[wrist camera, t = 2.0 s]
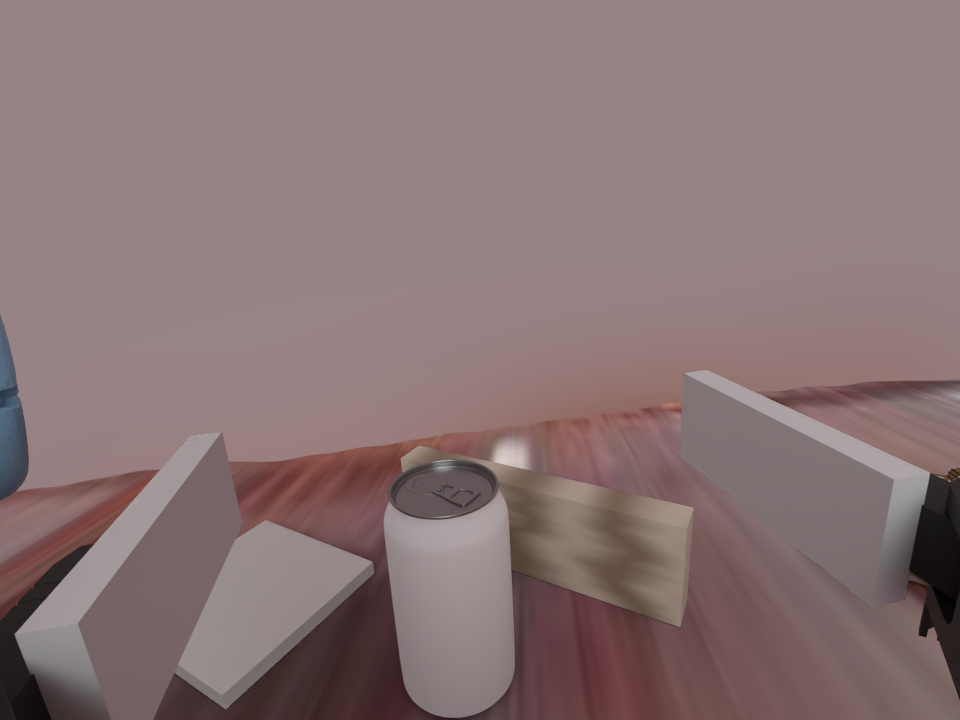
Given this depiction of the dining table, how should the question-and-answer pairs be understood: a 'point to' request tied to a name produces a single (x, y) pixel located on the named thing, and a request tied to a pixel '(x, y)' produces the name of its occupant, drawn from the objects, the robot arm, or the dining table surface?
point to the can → (451, 585)
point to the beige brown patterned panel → (593, 538)
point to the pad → (265, 607)
